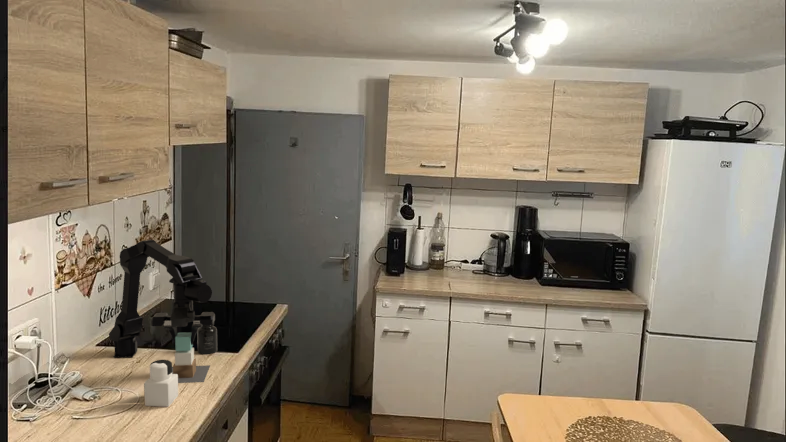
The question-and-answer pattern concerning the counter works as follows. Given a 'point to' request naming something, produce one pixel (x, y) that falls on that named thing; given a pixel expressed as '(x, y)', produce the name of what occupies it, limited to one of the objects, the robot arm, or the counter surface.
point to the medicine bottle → (161, 384)
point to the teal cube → (183, 342)
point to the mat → (196, 375)
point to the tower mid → (184, 357)
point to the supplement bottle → (207, 339)
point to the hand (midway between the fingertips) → (184, 344)
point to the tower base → (185, 370)
